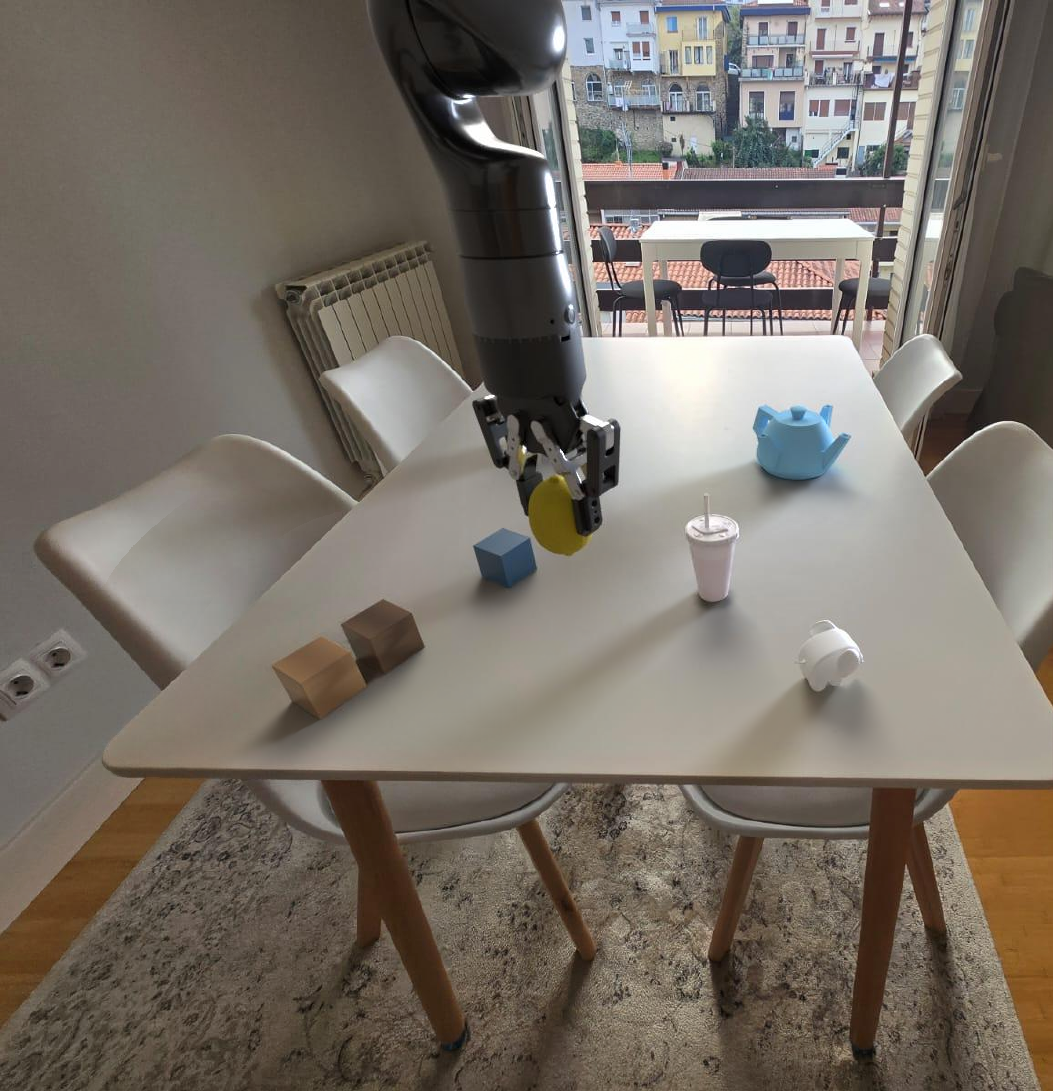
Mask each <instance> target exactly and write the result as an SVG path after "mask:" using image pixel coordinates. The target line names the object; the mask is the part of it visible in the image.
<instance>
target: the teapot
mask: <svg viewBox="0 0 1053 1091" xmlns="http://www.w3.org/2000/svg"><path fill="white" fill-rule="evenodd" d="M833 408H834V406H833V405H830V404H825V405H823V406H822V408H821V410H820V412H819V413H818V412H815V411H812V410H808V407H806V406H804V405H793V406H790V408H789V409H785V410H781V411H777V410H775V409H774V408H772V407H771V406H769V405H767V404H764V405H761V406H758V408H757V412H756V415H755V417H754V418H755V419H754V421H753V426H752V430H753V432H754V433H755V435H756V439H757V446H756V453H755V454H756V455H755V456H756V459H757V461H758V464H760V466H761V467H762V468H763V469H764V470H765V471H766V472H767V473H768V474H770V475H772V476H774V477H777V478H780V479H784V480H793V481H794V480H795V481H801V480H802V481H803V480H810V479H815V478H818V477H820V476H822V475H823V474H825V473H826V472H827V471H828V470H829V469H831V467H832V466H833V465H834V464H835V462H836V461H837V459H838V458H839V456H840V455H841V454H842V452H843V450H844V449H845V447H846V445H847V444H848V442H849V441H850V439H851V438H852V435H850V434H848V433H845V432H841V433H840V434H839V435H838V436H837V437H836V438H835V439H834V435H833V433H832V432H831V430H830V429H831V422H832V415H833Z"/></svg>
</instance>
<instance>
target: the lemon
mask: <svg viewBox="0 0 1053 1091" xmlns="http://www.w3.org/2000/svg"><path fill="white" fill-rule="evenodd" d="M572 497H573V495H572V493H571V491H570V489H569V487H568V485H567V483H566V481H565V479H564V477H563V476H561V475H558V474H552V475H550V477H549V478H545V479H543V481H542V482H541V483H540V484H539V485H538V486H537V487H536V488H535V489H534V490H533V492H532V494H531V496H530V500H529V508H528V513H529V517H528V524H529V527H530V530H531V533H532V535H533V536H534V539H535V540H536V541H537V543H538V544H539V545H540V546H541V547H542V548H543V549H544V550H546V551H548V552H549V553H552V554H555V555H561V556H565V557H572V556H573V555H574V554H576V553H577V552H579V551H581V550H582V549H584V548H585V547H586V546H587V545H588V544H589V542H590V541H591V539H592V537H593V535H594V532H593V533H592V534H590V535H589V536H587V537H584V536H581V535H579V534H578V533H577V530H576V524H575V518H574V512H573V507H572V501H571V498H572Z"/></svg>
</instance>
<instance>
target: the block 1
mask: <svg viewBox="0 0 1053 1091" xmlns="http://www.w3.org/2000/svg"><path fill="white" fill-rule="evenodd" d="M270 666H271V669H272V670H273V671H274V673H275V675H276V677H277V678H278V680H279V682H280V683H281V685H282V687H283V688H284V690H285V692H286V693H287V696H288V698H289V699H290V700H291V702H293V703H294V704H296V705H297V706H299V707H300V708H302V709H303V710H305V711H306V712H308V713H310V714H311V715H313V717H315V718H317V719H318V720H322V719H323V718H325V717H326V716H327V715H329V714H330V713H332V712H333V711H335V710H336V709H337V708H339V707H341V706H342V705H343V704H344V703H346V702H348V701H349V700H350V699H352V698H353V697H354V696H356V695H357V694H359V693H360V692H362V691H364V689H367V687H368V686H367V684H366V681H365V679H364V677H363V676H362V673H361V671H360V669H359V667H358V665H357V663H356V661H355V658H354V656H353V654H352V652H351V651H350V650H349V649H346V648H345V647H342V645H340V644H337V643H336V642H334V641H332V640H330V639H328V638H327V637H324V636H323V635H320V636H318V637H316V638H315V639H313V640H312V641H310V642H308V643H307V644H305V645H303V646H301V647H300V648H298V649H296V650H294V651H293V652H291V653H289V654H288V655H286V656H284V657H283V658H281V659H279V660H278V661H276V662H275V663H273V664H271V665H270Z"/></svg>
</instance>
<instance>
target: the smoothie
mask: <svg viewBox="0 0 1053 1091" xmlns="http://www.w3.org/2000/svg"><path fill="white" fill-rule="evenodd" d="M703 511H704V512H703V513H704V514H703V515H699V516H696V517H694V518H692V519H691V520H689V521H688V522H687V524H686V525H685V527H684V528H685V529H684V531H685V534H684V537H685V539H686V541H687V542H688V544H689V550H690V555H691V560H692V565H693V571H694V576H695V582H696V585H697V590H698V595H699V597H700V599H702V600H704V601H706V602H713V603H714V602H715V603H716V602H719V601H723V600H725V598H727V596H728V594H729V589H730V581H731V575H732V568H733V561H734V554H735V547H736V541H737V540H738V539H739V537H740V531H739V525H738V523H737V522H736V521H735V520H734V519H732V518H731V517H729V516H726V515H722V514H710V495H709V493H703Z"/></svg>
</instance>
